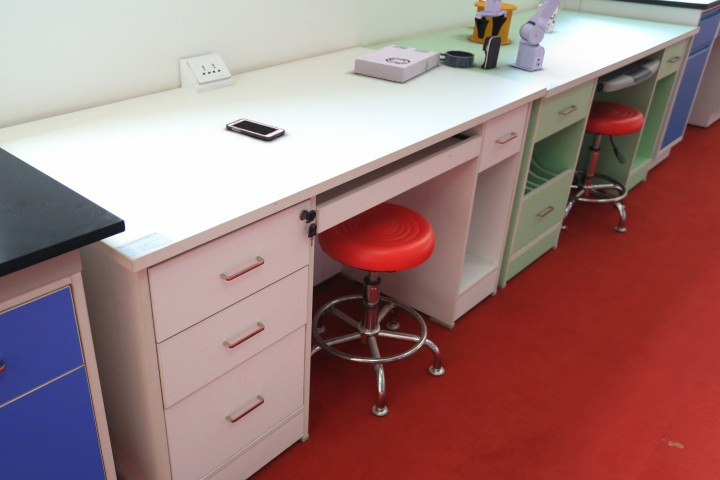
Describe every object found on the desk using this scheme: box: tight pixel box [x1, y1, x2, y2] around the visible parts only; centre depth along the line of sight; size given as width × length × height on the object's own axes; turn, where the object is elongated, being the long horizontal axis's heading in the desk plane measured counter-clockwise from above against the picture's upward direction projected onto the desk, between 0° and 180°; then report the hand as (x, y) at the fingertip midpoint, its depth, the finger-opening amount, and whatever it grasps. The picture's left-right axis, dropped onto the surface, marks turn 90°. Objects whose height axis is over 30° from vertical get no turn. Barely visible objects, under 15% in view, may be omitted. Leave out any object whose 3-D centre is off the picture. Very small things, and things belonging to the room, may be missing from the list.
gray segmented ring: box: [439, 49, 476, 69], centre depth 256 cm, size 14×11×4 cm
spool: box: [468, 1, 518, 46], centre depth 294 cm, size 18×18×15 cm
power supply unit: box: [353, 43, 442, 84], centre depth 244 cm, size 19×33×5 cm, turn 149°
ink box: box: [536, 3, 560, 34], centre depth 321 cm, size 9×5×12 cm, turn 48°
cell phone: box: [225, 118, 286, 141], centre depth 180 cm, size 8×15×1 cm, turn 57°
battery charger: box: [481, 36, 502, 70], centre depth 252 cm, size 7×4×11 cm, turn 134°
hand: (487, 37), depth 252 cm, fingers open, 7 cm apart
